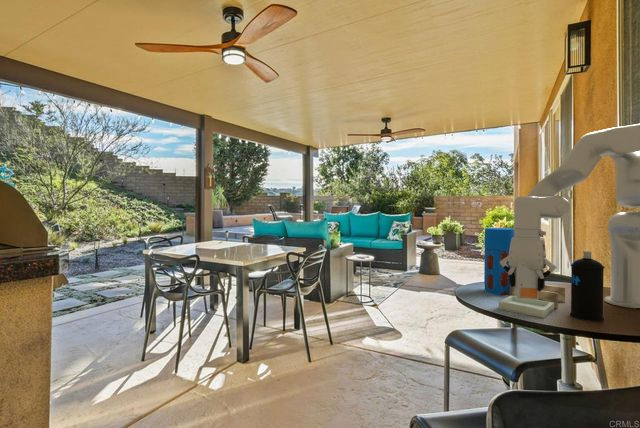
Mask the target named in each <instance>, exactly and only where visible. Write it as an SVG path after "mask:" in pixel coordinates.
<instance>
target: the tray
mask: <svg viewBox="0 0 640 428" xmlns="http://www.w3.org/2000/svg"><path fill="white" fill-rule="evenodd" d="M498 310H502V311H507V312H512V313H518V314H522V315H528V316H533V317H538V318H543V319H546V318H547V317H548V316H549V315H550V314H552V312H553V311H554V310H555V308H554V302H548V301H541V300H530V299H518V298H517V297H516V296H511V295H510V296H506V297H505V298H504V299H502V300H500V301H498Z"/></svg>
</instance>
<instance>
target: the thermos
mask: <svg viewBox="0 0 640 428" xmlns="http://www.w3.org/2000/svg"><path fill="white" fill-rule="evenodd" d="M513 237H514V228H511V227H510V228H508V227H486V228H484V258H483V259H484V265H483V266H484V274H483V275H484V276H483V277H484V279H483V280H484V281H483V284H484V292H485V291H486V292H485V293H487V294H490V295H494V294H495V295H494V296H503V295H509V286H511V284H510V283H509V274H508V272H507V271H506V270H505V269H504V267H503V266H502V265H501V264H500V261H501V260H503V259H504V258H506V257H507V256H509V249H510V243H511V239H512V238H513ZM506 264H507V265H508V266H509V261H507V262H506ZM509 267H510V268H511V266H509Z"/></svg>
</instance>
